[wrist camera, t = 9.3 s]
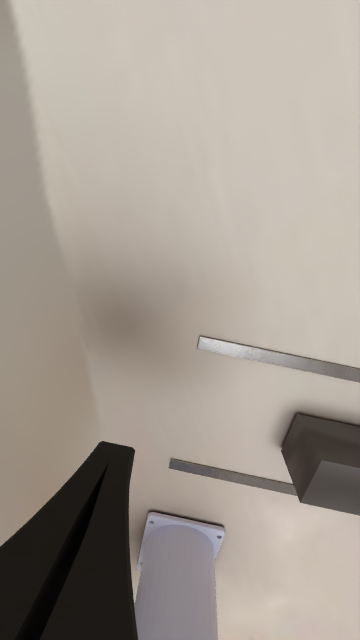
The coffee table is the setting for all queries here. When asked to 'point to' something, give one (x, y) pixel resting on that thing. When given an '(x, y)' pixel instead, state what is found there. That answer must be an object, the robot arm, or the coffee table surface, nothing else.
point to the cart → (324, 463)
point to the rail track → (270, 358)
